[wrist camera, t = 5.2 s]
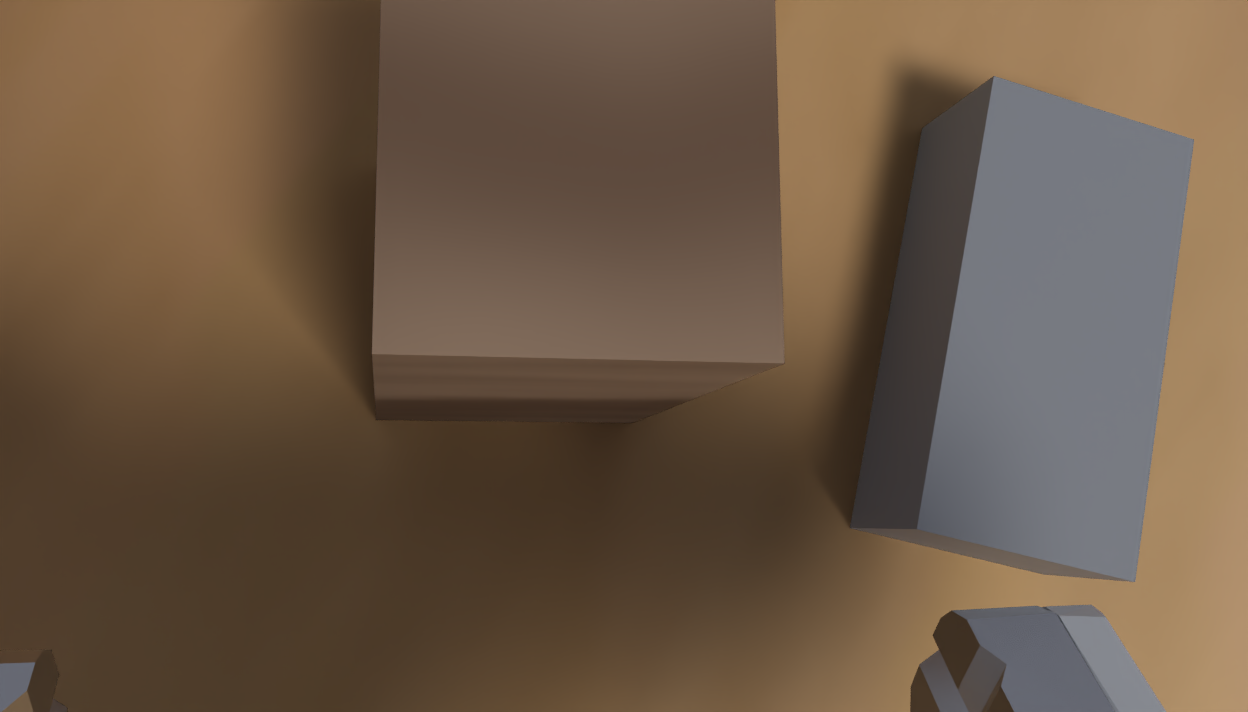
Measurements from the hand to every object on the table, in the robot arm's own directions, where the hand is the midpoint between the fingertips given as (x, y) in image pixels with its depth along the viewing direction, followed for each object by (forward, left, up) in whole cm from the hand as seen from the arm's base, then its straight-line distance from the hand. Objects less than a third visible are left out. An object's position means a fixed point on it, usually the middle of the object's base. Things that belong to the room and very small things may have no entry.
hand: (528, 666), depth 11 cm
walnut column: (+4, +3, -9) cm, 11 cm away
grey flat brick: (+10, -4, -9) cm, 14 cm away
